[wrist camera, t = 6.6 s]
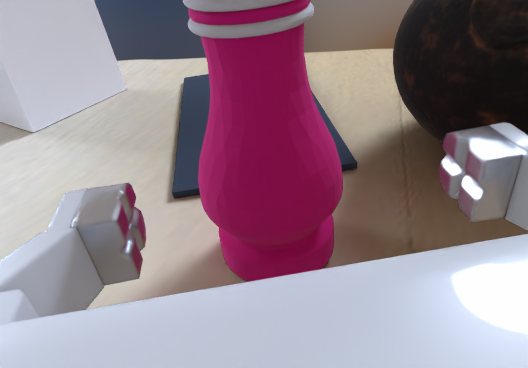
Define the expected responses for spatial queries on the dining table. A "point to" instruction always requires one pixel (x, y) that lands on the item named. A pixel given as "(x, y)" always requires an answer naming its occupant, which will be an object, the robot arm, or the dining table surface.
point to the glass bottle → (464, 64)
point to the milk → (53, 61)
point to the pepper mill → (265, 139)
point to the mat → (195, 128)
